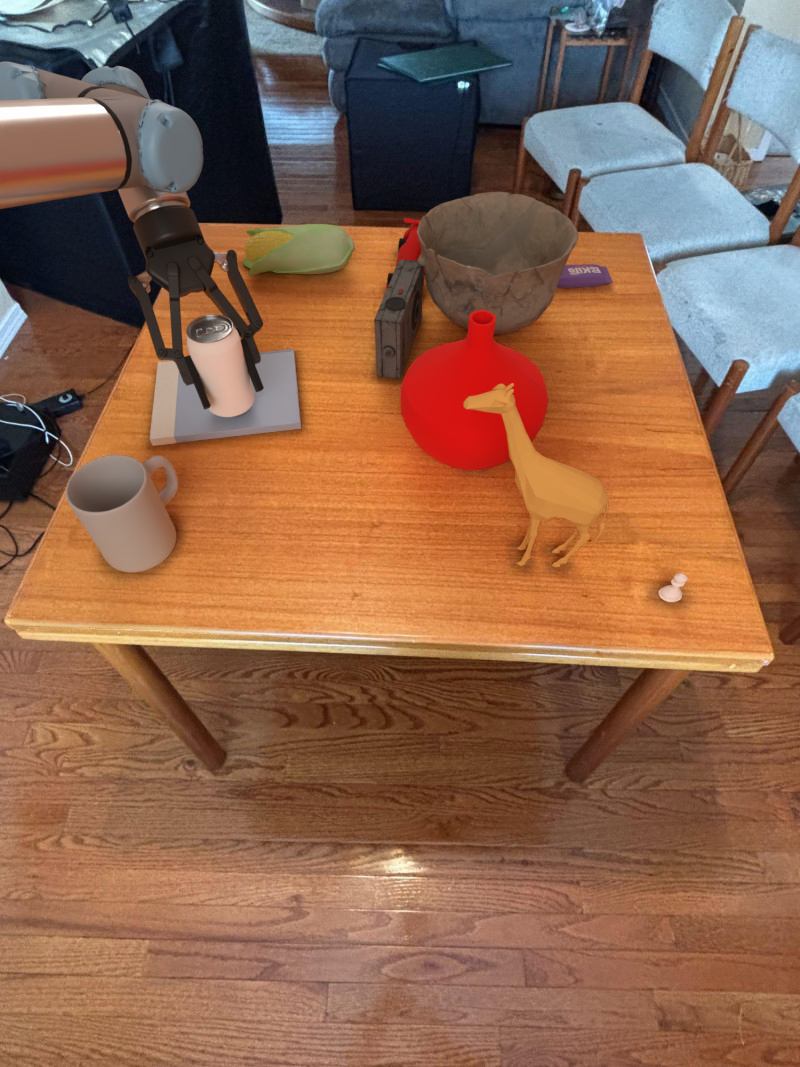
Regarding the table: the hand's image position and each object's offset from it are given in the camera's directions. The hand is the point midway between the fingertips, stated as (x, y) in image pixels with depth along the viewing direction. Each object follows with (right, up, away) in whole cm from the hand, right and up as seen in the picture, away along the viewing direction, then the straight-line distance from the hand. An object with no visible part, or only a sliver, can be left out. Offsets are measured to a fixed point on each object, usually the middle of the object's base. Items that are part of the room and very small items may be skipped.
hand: (233, 398), depth 82 cm
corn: (+4, +28, +28) cm, 40 cm away
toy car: (+23, +27, +28) cm, 45 cm away
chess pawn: (+52, -24, -11) cm, 58 cm away
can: (-2, 0, +5) cm, 5 cm away
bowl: (+35, +17, +20) cm, 44 cm away
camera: (+21, +11, +16) cm, 29 cm away
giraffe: (+35, -20, -7) cm, 41 cm away
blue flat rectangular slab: (-3, +2, +9) cm, 10 cm away
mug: (-9, -18, -5) cm, 20 cm away
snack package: (+51, +25, +26) cm, 63 cm away
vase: (+31, -5, +4) cm, 31 cm away
